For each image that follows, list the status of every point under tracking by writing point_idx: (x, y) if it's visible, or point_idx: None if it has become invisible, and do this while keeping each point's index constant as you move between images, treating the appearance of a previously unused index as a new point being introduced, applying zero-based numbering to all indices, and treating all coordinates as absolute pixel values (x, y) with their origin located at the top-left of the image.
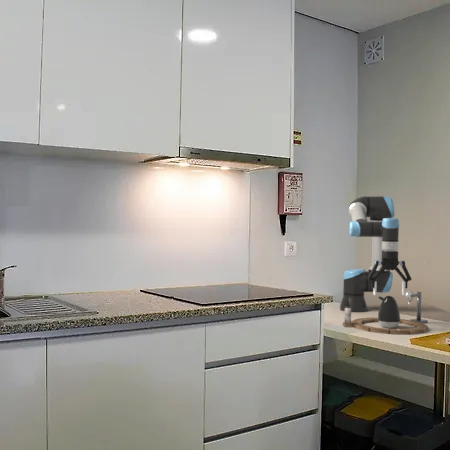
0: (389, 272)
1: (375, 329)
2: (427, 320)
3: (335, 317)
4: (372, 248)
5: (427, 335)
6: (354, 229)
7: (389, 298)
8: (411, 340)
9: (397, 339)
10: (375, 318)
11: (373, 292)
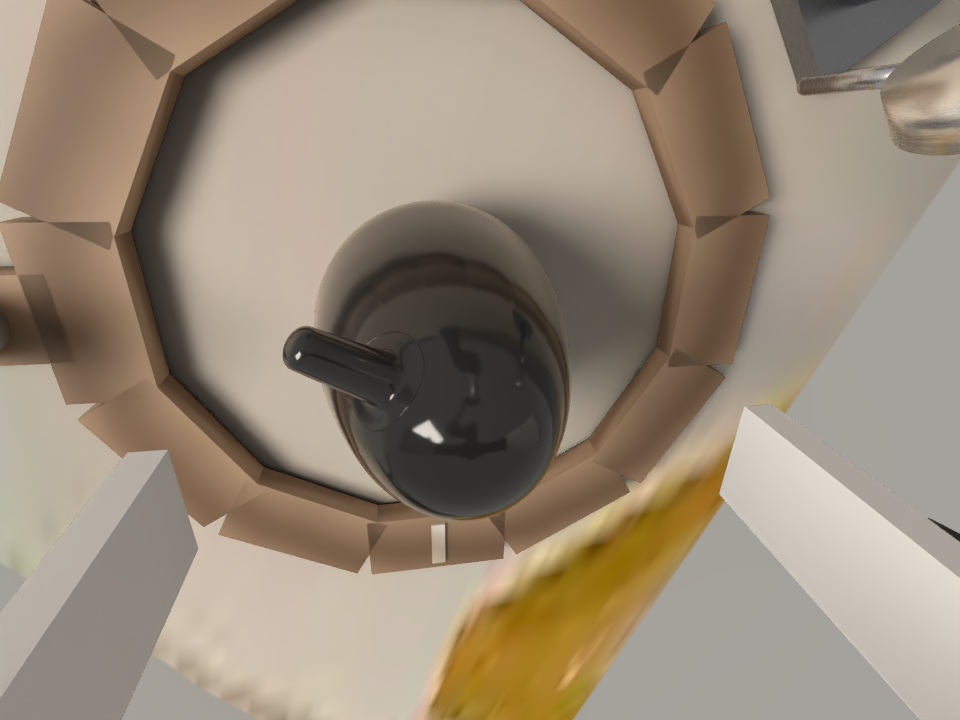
0: None
1: (262, 543)
2: (936, 2)
3: None
4: None
5: (611, 526)
6: None
7: (452, 520)
8: (458, 655)
9: (383, 652)
10: None
11: (105, 494)
